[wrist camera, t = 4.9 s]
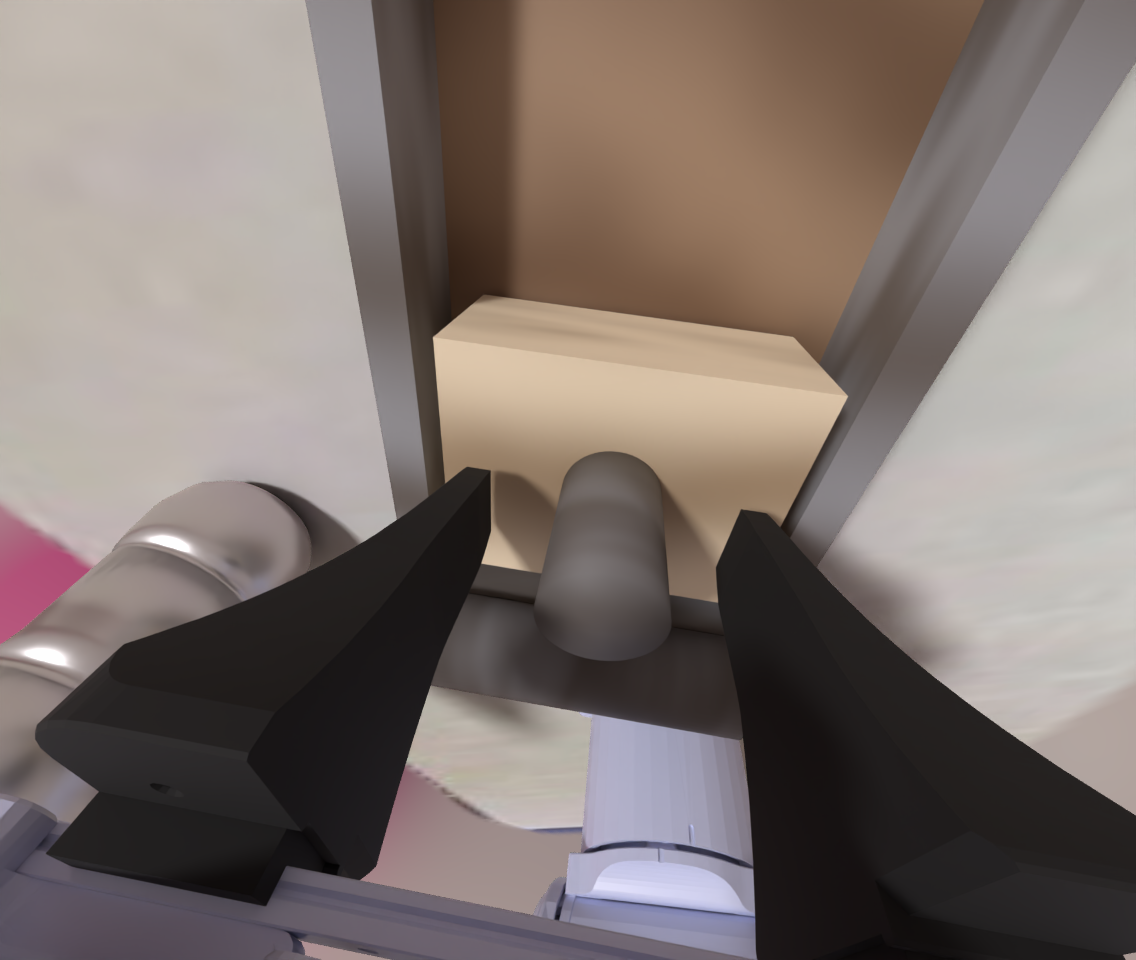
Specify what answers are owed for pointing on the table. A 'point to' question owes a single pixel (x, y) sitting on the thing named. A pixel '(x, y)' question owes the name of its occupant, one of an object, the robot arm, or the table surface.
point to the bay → (694, 226)
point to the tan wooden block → (623, 453)
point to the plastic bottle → (138, 613)
